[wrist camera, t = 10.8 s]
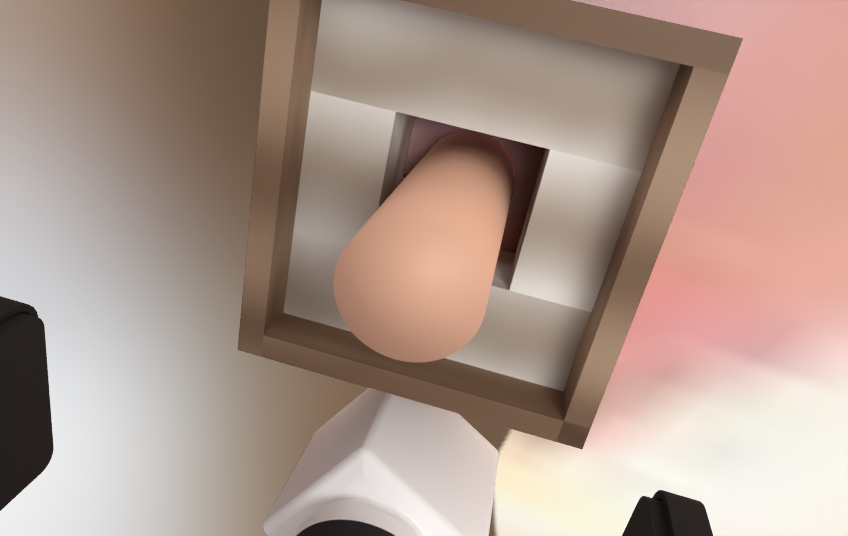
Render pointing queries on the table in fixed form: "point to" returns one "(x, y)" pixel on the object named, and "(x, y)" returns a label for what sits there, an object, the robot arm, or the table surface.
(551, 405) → the bore box
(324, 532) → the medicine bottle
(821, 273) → the table surface
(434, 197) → the peg
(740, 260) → the table surface
